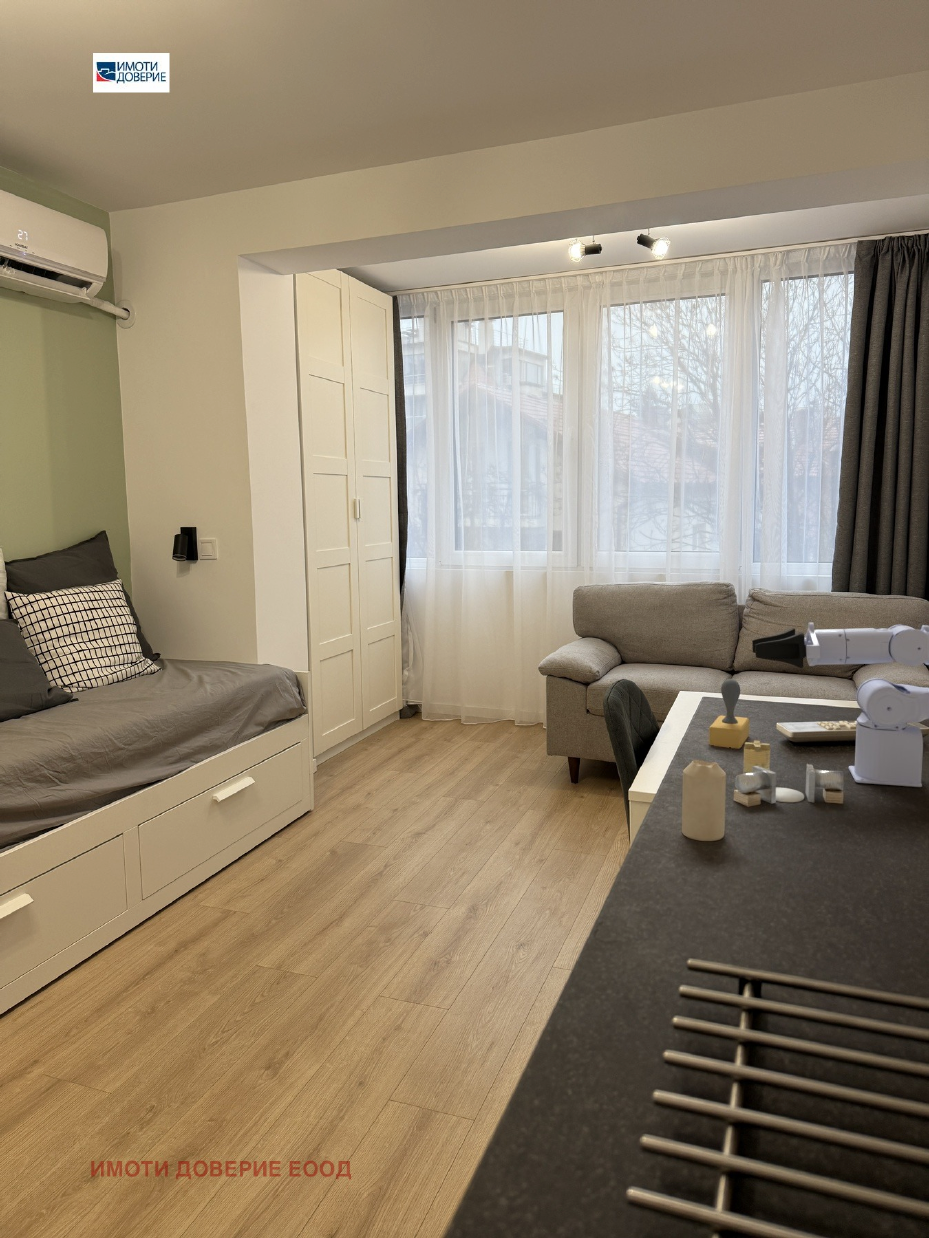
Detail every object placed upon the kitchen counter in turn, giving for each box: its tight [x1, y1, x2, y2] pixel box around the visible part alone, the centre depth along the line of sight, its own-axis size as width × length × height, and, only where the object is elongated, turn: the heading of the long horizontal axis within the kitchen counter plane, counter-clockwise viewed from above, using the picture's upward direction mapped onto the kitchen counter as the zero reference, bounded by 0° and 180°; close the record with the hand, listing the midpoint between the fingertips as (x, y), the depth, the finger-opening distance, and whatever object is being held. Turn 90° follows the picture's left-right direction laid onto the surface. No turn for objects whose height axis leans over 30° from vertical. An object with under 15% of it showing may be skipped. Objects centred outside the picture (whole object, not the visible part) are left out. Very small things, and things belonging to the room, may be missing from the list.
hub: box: [742, 740, 771, 774], centre depth 135 cm, size 4×4×6 cm
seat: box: [775, 786, 805, 803], centre depth 126 cm, size 6×6×1 cm
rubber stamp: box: [708, 678, 750, 749], centre depth 157 cm, size 10×6×12 cm, turn 153°
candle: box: [681, 759, 727, 842], centre depth 111 cm, size 6×6×10 cm
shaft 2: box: [805, 763, 845, 804], centre depth 124 cm, size 5×4×5 cm
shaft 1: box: [733, 766, 777, 808], centre depth 124 cm, size 5×4×5 cm
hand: (753, 648), depth 137 cm, fingers open, 7 cm apart
